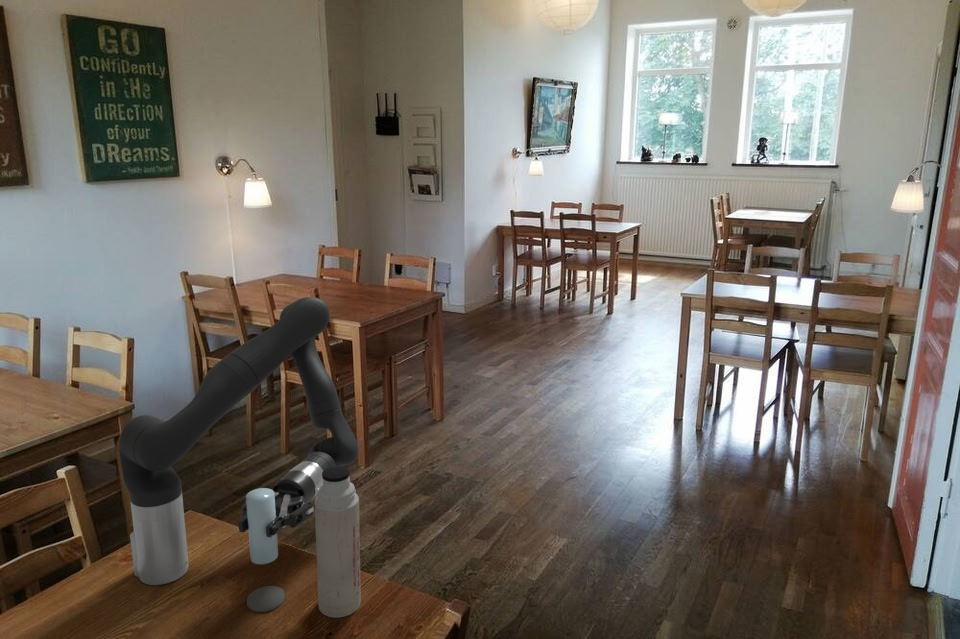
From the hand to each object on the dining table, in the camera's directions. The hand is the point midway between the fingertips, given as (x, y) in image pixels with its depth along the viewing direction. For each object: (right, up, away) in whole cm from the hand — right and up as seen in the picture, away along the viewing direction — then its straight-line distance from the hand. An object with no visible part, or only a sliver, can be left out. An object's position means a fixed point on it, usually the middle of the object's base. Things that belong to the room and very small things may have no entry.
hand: (254, 530), depth 124 cm
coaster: (0, -16, +7) cm, 17 cm away
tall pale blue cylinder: (0, -6, +4) cm, 8 cm away
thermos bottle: (+14, -16, +6) cm, 23 cm away
